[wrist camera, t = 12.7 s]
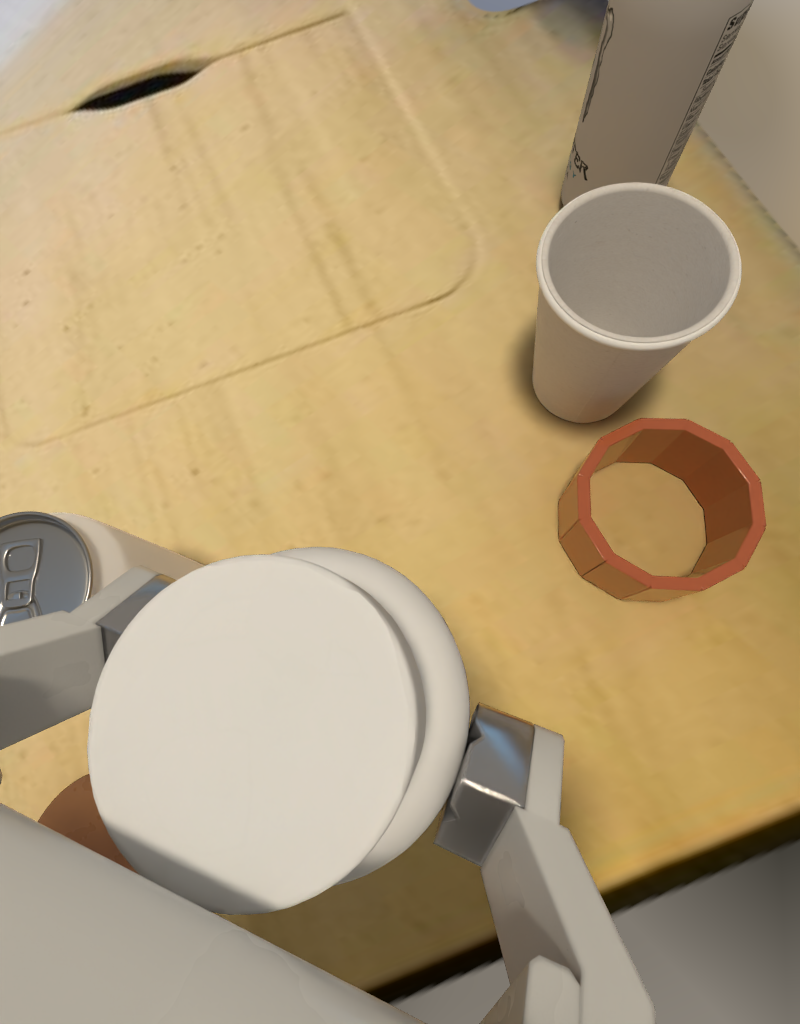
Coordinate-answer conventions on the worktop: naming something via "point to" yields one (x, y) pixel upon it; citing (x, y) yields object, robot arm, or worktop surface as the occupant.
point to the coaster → (82, 820)
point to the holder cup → (709, 476)
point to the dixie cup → (625, 293)
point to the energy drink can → (648, 89)
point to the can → (69, 561)
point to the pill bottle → (277, 728)
